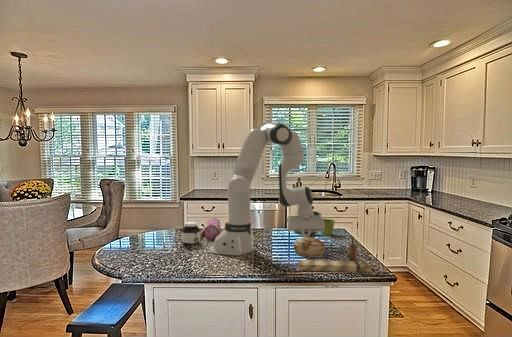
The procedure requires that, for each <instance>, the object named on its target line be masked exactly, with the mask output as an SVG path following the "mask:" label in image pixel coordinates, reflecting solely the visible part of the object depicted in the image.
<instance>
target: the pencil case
mask: <svg viewBox="0 0 512 337" xmlns="http://www.w3.org/2000/svg"><path fill="white" fill-rule="evenodd" d="M205 227H206V228H205ZM205 227H204V228H205V230H204V233H205V235H204V236H205V238H206V239H207V240H215V238H216V237H217V236H218V235H219V234H220V233H221V221H220V220H219V219H218V218H214V217H212V218H210V219H209V220H207V222H206V225H205Z"/></svg>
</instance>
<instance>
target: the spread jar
mask: <svg viewBox="0 0 512 337" xmlns="http://www.w3.org/2000/svg"><path fill="white" fill-rule="evenodd" d="M200 232H201V229H200V227H199V226H198V222H197V221H186V222H184V226H183V227H182V229H181V232H180V233H181V234H180V239H181V242H182V243H183V245H185V246H195V245H197V244H198V243H199V242H200V241H201V239H200Z"/></svg>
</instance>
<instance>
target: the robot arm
mask: <svg viewBox="0 0 512 337" xmlns="http://www.w3.org/2000/svg"><path fill="white" fill-rule="evenodd" d="M268 144H272V145H277V146H280V148H281V154H282V158H281V159H282V160H281V161H280V162H279V164H278V192H279V193H278V201H279V204H280V205H281V206H283V207H285V208H288V207H292V206H296V207H297V210H296V213H297V215H289V216H287V217H286V222H287V227H286V228H287V231H288V232H290V233H291V232H301V233H302V235H303V237H310V235H312V234H311V232H313V233H322V232H324V230H325V224H324V220H323V219H324V218H323V217H322V213H321V212H318V211H315V210H313V202H314V196H313V192H312V190H311V189H310V188H309V187H308V186H306V185H305V186H304V185H303V186H297V187H292V188H288V187H287V174H289V173H290V172H291V171H293V170H294V169H296V168H298V167H299V166H300V165H301V164H302V163H303V161H304V159H305V158H304V151H303V145H302V142H301V139H300V136H299V134H298V133H297V132H296V131H295V130H290V128H289V126H287V125H286V124H284V123H280V122H276V121H268V122H264V123H262V125H261V126H260V127H258V128H252V129H250V130H249V132H248V134H247V135H246V137H245V139H244V141H243V142H242V146H241V148H240V151H239V154H238V156H237V159H236V163H235V166H234V168H233V171H232V174H231V176H230V180H229V181H228V183H227V200H228V201H227V204H228V221H226V222H225V223H224V227H225V230H224V231H223V232H222V233H221V232H220V233H221V234H220V233H219V235H218V236H217V237H216V238H214V241H213V245H211V246H210V247H209V250H208V252H209V253H210V254H216V255H217V254H219V255H229V256H230V255H231V256H240V255H245V254H249V253H251V252H253V251H254V246H253V243H252V236H251V234H252V222H251V185H252V182H253V179H254V177H255V174H256V172H257V169H258V166H259V165H260V164H259V163H260V162H261V159H262V156H263V154H264V149H265V148H266V146H267V145H268ZM304 232H308V234H305V233H304Z"/></svg>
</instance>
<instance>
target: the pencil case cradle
mask: <svg viewBox="0 0 512 337" xmlns="http://www.w3.org/2000/svg"><path fill="white" fill-rule="evenodd" d="M205 228H206V226H205V227H204V228H203V229H202V230H200V240H201V239H202V238H203V237H204V236H205V233H204V230H205ZM224 230H225V226H224V227H223V229H222V230H220V233H219V234H221V233H222V232H223V231H224Z"/></svg>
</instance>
